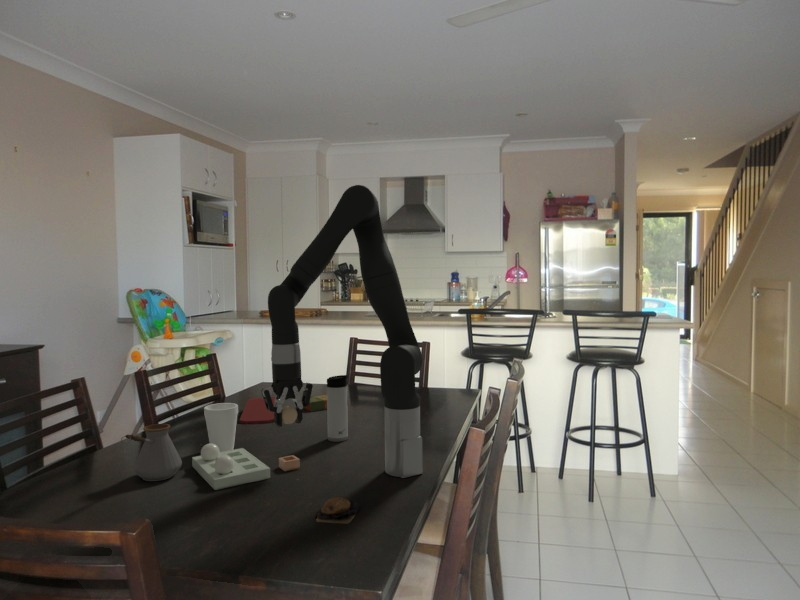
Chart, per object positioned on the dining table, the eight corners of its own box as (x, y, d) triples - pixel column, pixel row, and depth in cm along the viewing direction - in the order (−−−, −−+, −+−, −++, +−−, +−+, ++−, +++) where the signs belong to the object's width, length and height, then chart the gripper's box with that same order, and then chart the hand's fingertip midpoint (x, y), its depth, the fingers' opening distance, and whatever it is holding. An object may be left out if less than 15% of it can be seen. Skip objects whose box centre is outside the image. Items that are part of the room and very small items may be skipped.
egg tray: (270, 478, 149) (270, 468, 149) (214, 490, 141) (214, 479, 141) (243, 456, 166) (242, 448, 166) (192, 466, 158) (191, 457, 158)
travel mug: (345, 442, 179) (344, 377, 178) (324, 441, 180) (323, 376, 179) (351, 436, 185) (350, 373, 184) (331, 435, 186) (330, 373, 185)
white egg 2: (237, 475, 146) (236, 456, 146) (217, 479, 143) (217, 459, 143) (231, 470, 150) (230, 451, 150) (212, 473, 147) (211, 454, 147)
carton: (348, 406, 227) (348, 395, 227) (310, 413, 218) (310, 401, 218) (338, 402, 234) (338, 392, 234) (301, 408, 225) (300, 397, 225)
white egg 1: (222, 462, 156) (221, 444, 156) (203, 465, 153) (203, 447, 153) (216, 457, 160) (216, 440, 160) (198, 460, 157) (198, 443, 157)
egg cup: (299, 468, 156) (299, 459, 156) (285, 471, 153) (284, 462, 153) (293, 464, 159) (293, 455, 159) (278, 467, 157) (278, 457, 157)
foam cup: (229, 443, 179) (228, 401, 178) (245, 450, 172) (243, 406, 172) (199, 450, 172) (198, 406, 172) (214, 457, 166) (213, 411, 165)
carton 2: (275, 433, 204) (282, 406, 228) (274, 420, 203) (281, 394, 227) (239, 434, 203) (250, 407, 227) (238, 421, 202) (249, 395, 226)
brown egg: (300, 424, 155) (300, 405, 154) (283, 427, 152) (283, 408, 152) (293, 420, 159) (292, 403, 158) (276, 423, 156) (275, 405, 156)
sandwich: (351, 527, 121) (351, 509, 121) (311, 524, 123) (311, 507, 122) (363, 506, 132) (363, 490, 131) (326, 504, 133) (326, 488, 133)
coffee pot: (147, 468, 157) (145, 413, 157) (189, 468, 157) (188, 413, 156) (103, 499, 136) (100, 435, 135) (151, 500, 135) (149, 435, 135)
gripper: (265, 365, 147) (268, 432, 148) (317, 359, 155) (319, 422, 156) (254, 362, 154) (257, 426, 154) (305, 356, 162) (307, 417, 162)
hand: (288, 424), depth 155 cm, fingers closed on brown egg, 4 cm apart
